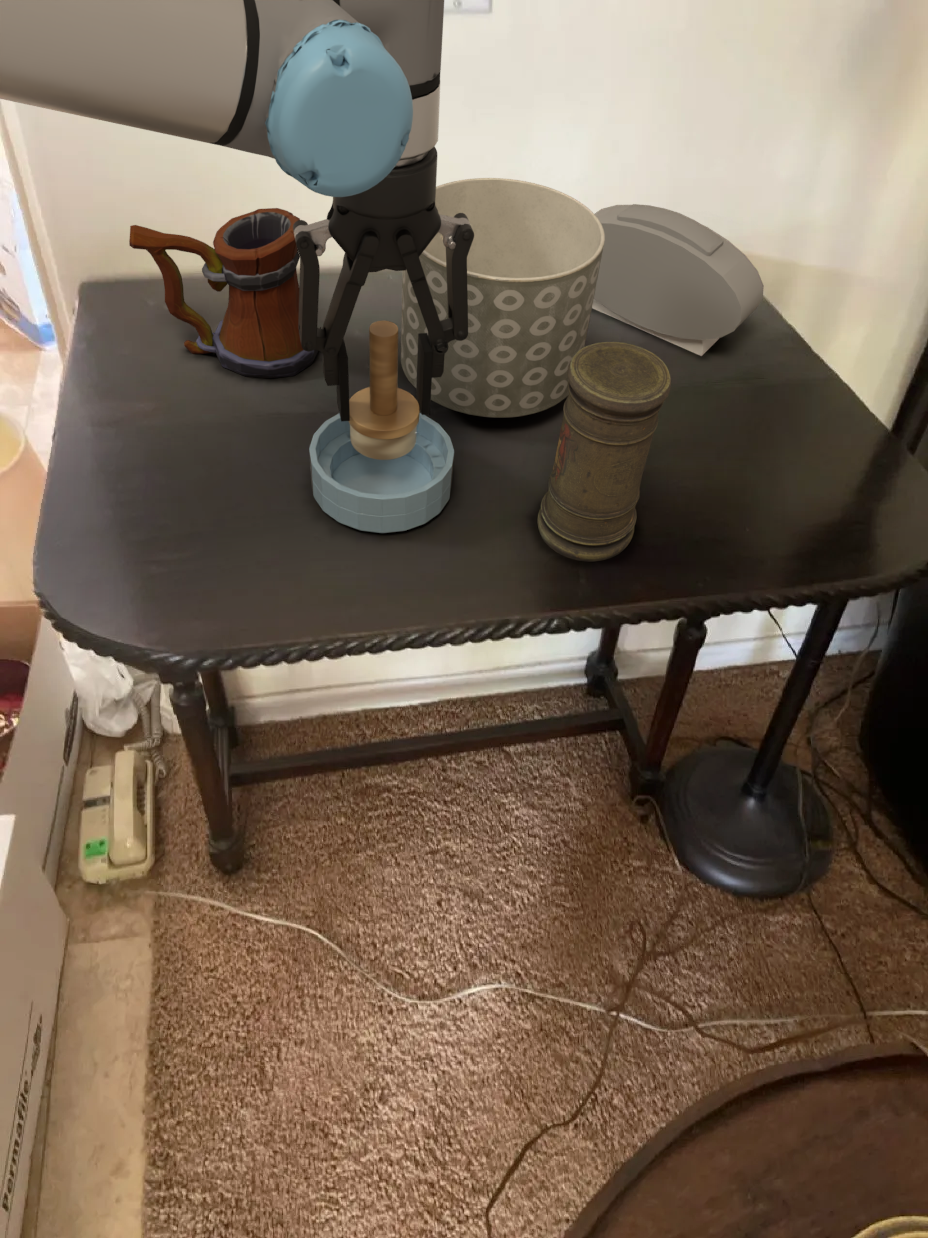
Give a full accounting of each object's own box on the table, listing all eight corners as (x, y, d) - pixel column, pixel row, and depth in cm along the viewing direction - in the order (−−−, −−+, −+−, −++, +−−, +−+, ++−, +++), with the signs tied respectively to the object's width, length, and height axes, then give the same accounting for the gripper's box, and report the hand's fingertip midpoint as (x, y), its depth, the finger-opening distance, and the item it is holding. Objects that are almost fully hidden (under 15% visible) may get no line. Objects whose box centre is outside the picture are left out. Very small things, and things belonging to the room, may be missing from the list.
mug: (149, 386, 101) (120, 252, 89) (155, 323, 108) (129, 191, 96) (323, 381, 103) (317, 250, 92) (318, 320, 110) (311, 191, 99)
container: (647, 522, 93) (694, 363, 79) (604, 578, 87) (647, 419, 74) (565, 484, 95) (597, 324, 82) (519, 536, 90) (545, 375, 76)
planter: (581, 347, 111) (610, 192, 97) (567, 453, 98) (599, 292, 84) (417, 323, 111) (423, 165, 98) (384, 425, 99) (385, 262, 85)
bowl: (321, 545, 88) (318, 505, 84) (305, 451, 96) (302, 410, 92) (463, 531, 90) (467, 491, 86) (435, 440, 98) (438, 400, 94)
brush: (353, 464, 86) (350, 353, 77) (343, 419, 90) (339, 308, 81) (424, 458, 87) (429, 348, 78) (411, 413, 91) (415, 304, 82)
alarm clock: (747, 347, 113) (782, 244, 103) (724, 370, 110) (758, 267, 100) (578, 274, 121) (596, 172, 111) (552, 294, 117) (568, 191, 108)
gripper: (505, 116, 72) (480, 374, 90) (240, 122, 69) (269, 390, 86) (530, 163, 67) (499, 425, 85) (248, 172, 64) (276, 445, 81)
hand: (383, 407), depth 86 cm, fingers closed on brush, 6 cm apart
